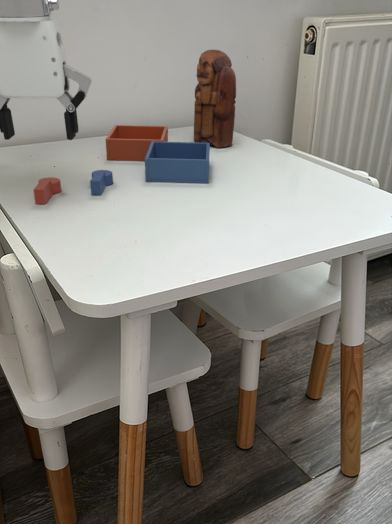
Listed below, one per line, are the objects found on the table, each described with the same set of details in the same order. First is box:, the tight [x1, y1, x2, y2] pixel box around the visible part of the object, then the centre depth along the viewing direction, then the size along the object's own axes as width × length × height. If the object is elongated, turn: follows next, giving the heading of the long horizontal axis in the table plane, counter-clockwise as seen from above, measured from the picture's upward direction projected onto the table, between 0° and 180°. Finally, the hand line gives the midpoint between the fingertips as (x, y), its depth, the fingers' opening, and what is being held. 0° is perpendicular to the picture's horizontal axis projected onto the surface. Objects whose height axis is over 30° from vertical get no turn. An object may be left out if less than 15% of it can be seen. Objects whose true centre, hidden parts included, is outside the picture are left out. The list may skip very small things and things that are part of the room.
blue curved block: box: [89, 169, 114, 196], centre depth 95 cm, size 8×4×2 cm, turn 178°
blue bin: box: [144, 141, 211, 184], centre depth 103 cm, size 11×12×4 cm
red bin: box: [105, 124, 169, 162], centre depth 114 cm, size 11×12×4 cm
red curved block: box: [33, 176, 62, 205], centre depth 91 cm, size 8×4×2 cm, turn 178°
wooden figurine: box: [193, 49, 237, 149], centre depth 118 cm, size 12×6×18 cm, turn 38°
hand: (40, 137), depth 86 cm, fingers open, 9 cm apart
